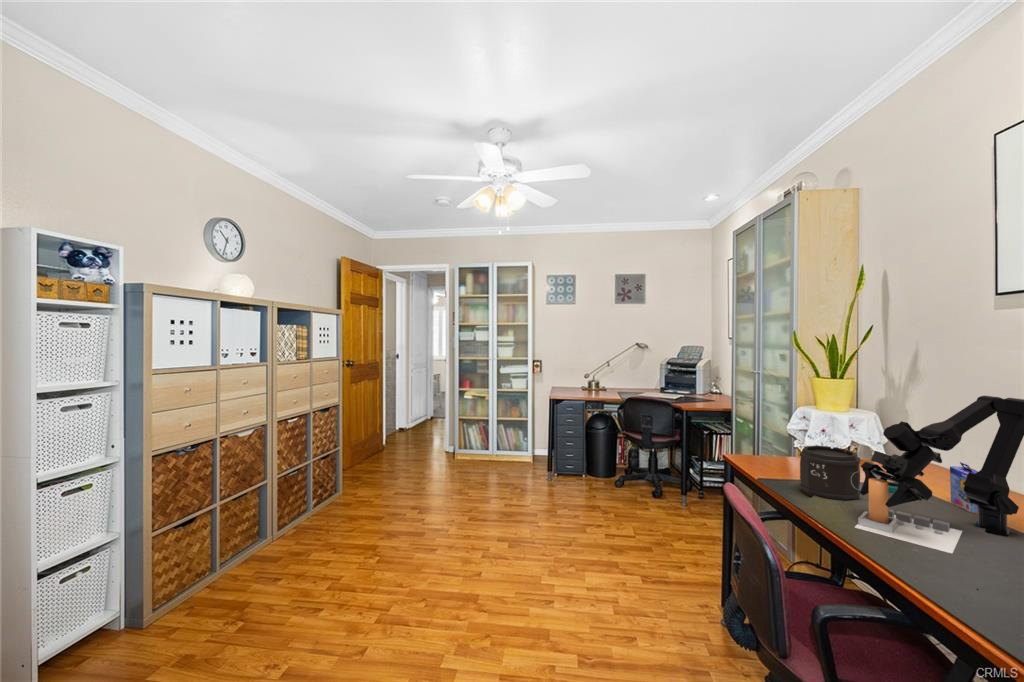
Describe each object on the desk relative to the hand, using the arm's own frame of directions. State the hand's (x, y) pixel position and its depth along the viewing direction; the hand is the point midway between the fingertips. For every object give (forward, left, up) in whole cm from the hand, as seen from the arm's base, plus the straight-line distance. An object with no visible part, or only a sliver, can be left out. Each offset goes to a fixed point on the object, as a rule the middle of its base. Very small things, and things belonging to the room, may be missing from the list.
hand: (873, 499), depth 127 cm
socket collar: (-1, +1, -7) cm, 7 cm away
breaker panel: (-4, +7, -9) cm, 12 cm away
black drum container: (-23, -17, -9) cm, 30 cm away
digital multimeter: (-46, -3, -9) cm, 47 cm away
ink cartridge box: (-43, +16, -9) cm, 47 cm away
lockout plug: (-1, +1, -7) cm, 8 cm away
